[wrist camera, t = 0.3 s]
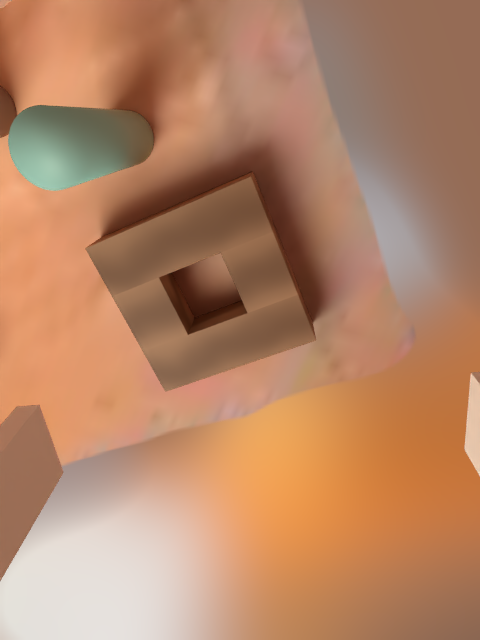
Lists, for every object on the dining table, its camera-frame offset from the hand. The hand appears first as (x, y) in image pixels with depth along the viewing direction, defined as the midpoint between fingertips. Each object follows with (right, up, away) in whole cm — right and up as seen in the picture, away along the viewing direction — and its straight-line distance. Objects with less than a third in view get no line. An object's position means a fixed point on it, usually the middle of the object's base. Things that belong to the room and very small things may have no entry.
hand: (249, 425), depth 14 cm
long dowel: (-9, +17, +22) cm, 29 cm away
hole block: (-3, +7, +26) cm, 27 cm away
